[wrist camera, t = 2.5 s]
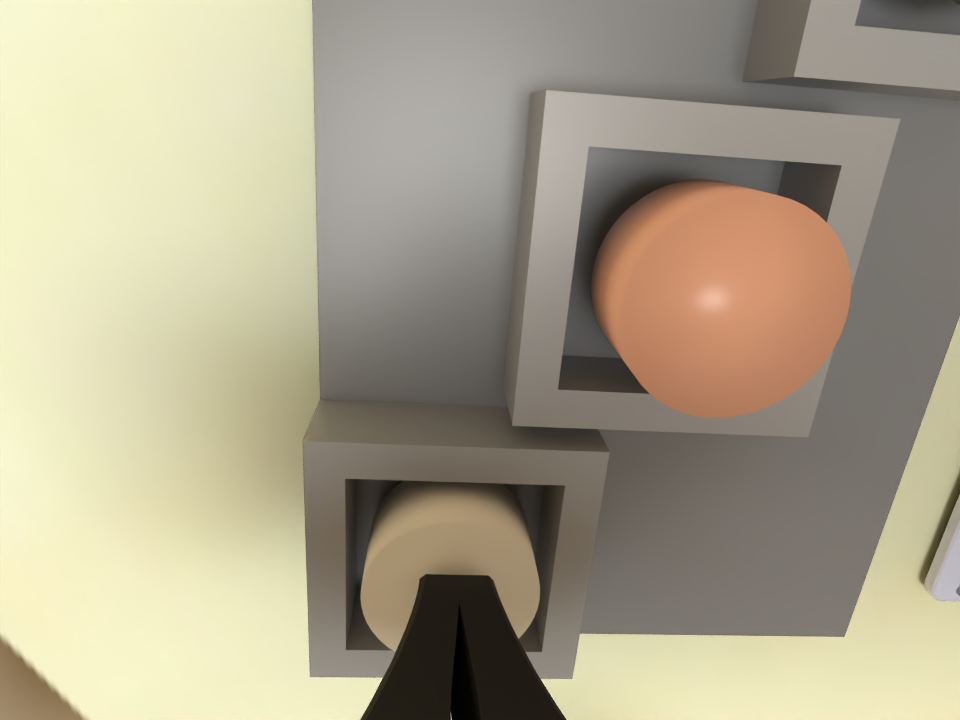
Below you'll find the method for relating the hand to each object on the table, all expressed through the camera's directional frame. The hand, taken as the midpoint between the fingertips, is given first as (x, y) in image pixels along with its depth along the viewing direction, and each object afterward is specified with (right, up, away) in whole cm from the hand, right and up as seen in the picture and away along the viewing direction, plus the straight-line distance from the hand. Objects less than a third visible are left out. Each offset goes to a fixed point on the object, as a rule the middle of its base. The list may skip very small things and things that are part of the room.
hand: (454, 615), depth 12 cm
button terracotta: (+4, +6, -1) cm, 8 cm away
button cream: (0, +1, +2) cm, 3 cm away
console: (+4, +8, +3) cm, 9 cm away
